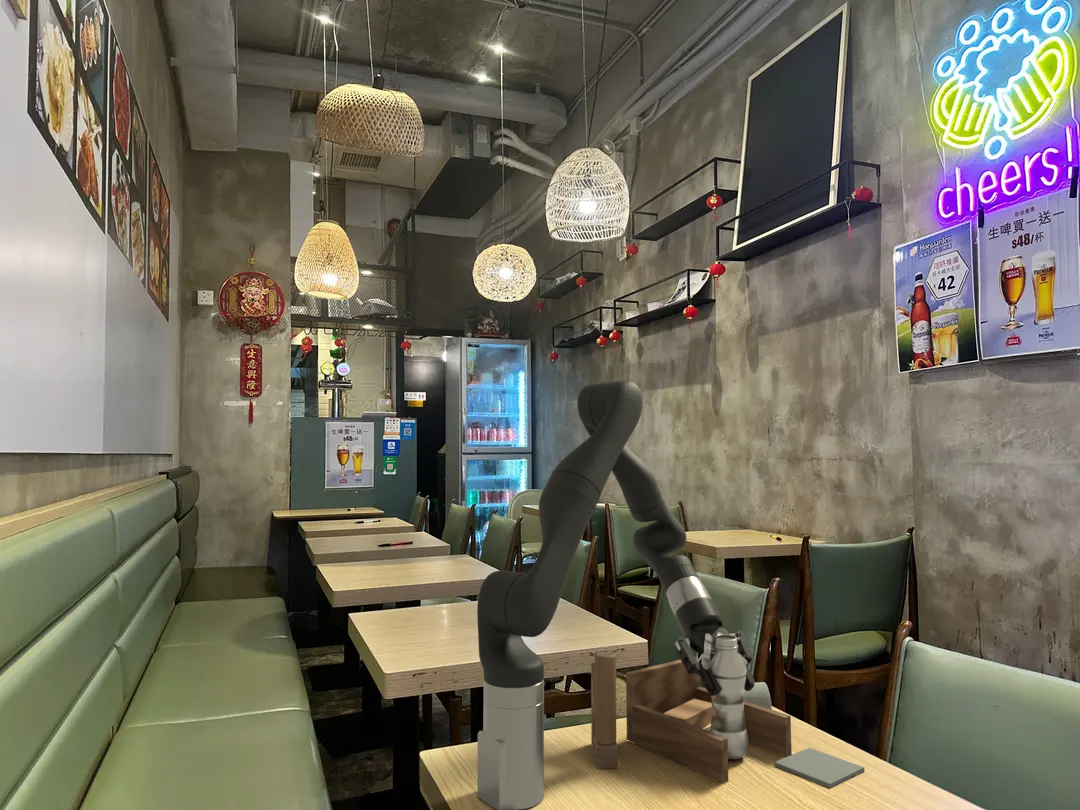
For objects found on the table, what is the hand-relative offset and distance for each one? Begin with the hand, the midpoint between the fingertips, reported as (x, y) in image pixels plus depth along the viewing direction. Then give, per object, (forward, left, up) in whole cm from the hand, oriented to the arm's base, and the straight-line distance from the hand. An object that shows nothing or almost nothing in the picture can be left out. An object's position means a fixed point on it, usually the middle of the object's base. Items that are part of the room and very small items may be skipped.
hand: (733, 690), depth 121 cm
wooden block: (-17, +15, -12) cm, 25 cm away
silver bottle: (0, +2, -12) cm, 12 cm away
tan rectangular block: (0, +10, -12) cm, 15 cm away
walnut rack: (0, +6, -11) cm, 13 cm away
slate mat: (+8, -10, -11) cm, 18 cm away
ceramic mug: (+15, +8, -12) cm, 21 cm away
